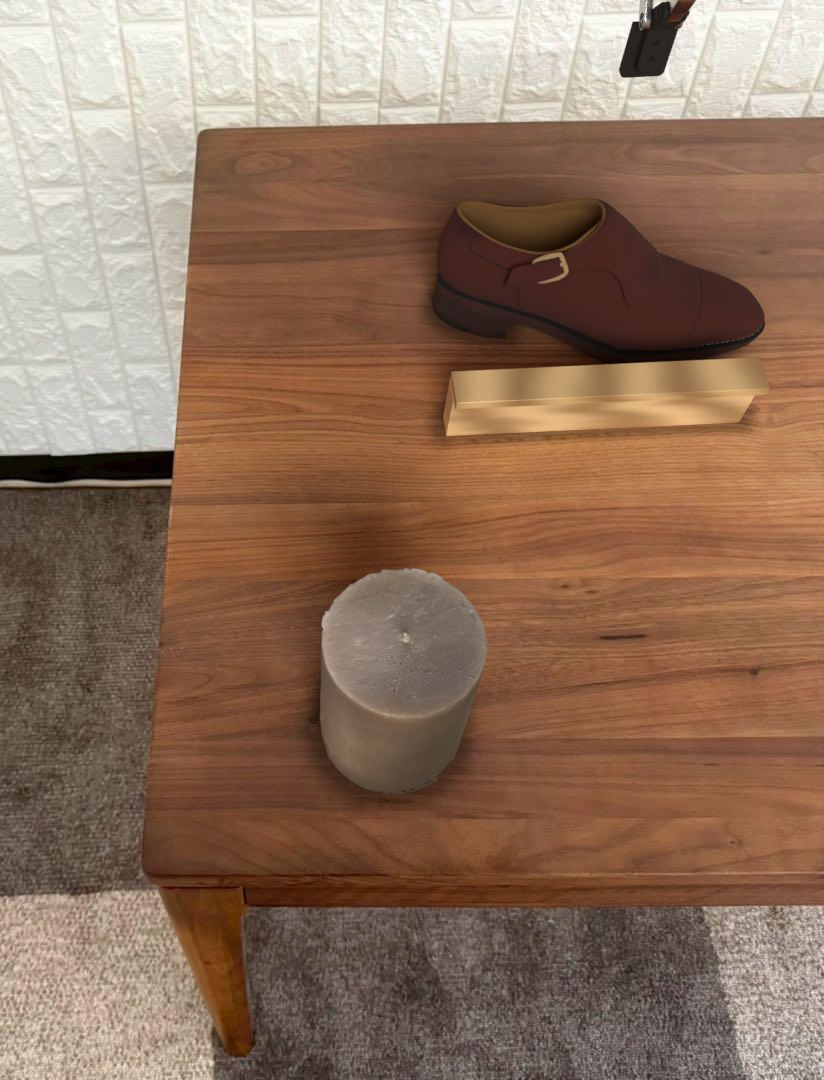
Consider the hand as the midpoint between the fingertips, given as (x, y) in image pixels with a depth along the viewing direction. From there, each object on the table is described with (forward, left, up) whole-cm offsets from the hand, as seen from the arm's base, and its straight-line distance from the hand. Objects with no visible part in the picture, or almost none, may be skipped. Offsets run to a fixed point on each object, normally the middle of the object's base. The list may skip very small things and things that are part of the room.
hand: (625, 34), depth 77 cm
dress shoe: (0, +10, -21) cm, 23 cm away
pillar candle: (+21, +46, -21) cm, 55 cm away
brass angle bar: (+2, +21, -20) cm, 29 cm away
